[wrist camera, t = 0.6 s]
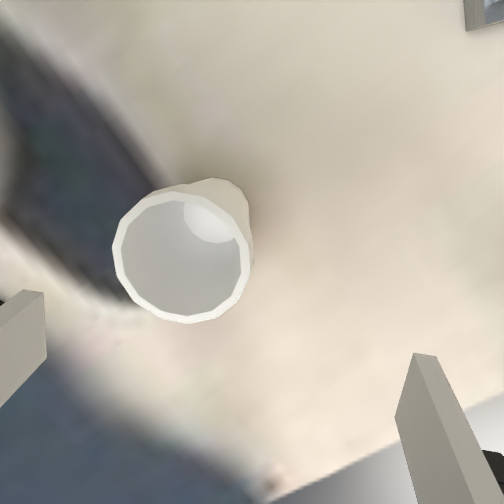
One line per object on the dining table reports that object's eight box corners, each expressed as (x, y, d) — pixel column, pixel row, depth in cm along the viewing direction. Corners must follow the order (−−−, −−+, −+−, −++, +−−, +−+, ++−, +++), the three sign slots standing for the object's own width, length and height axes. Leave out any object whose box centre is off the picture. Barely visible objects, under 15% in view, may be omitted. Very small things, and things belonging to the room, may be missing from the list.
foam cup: (250, 148, 40) (227, 175, 28) (277, 244, 43) (267, 307, 31) (152, 176, 42) (90, 213, 30) (185, 266, 45) (140, 334, 33)
